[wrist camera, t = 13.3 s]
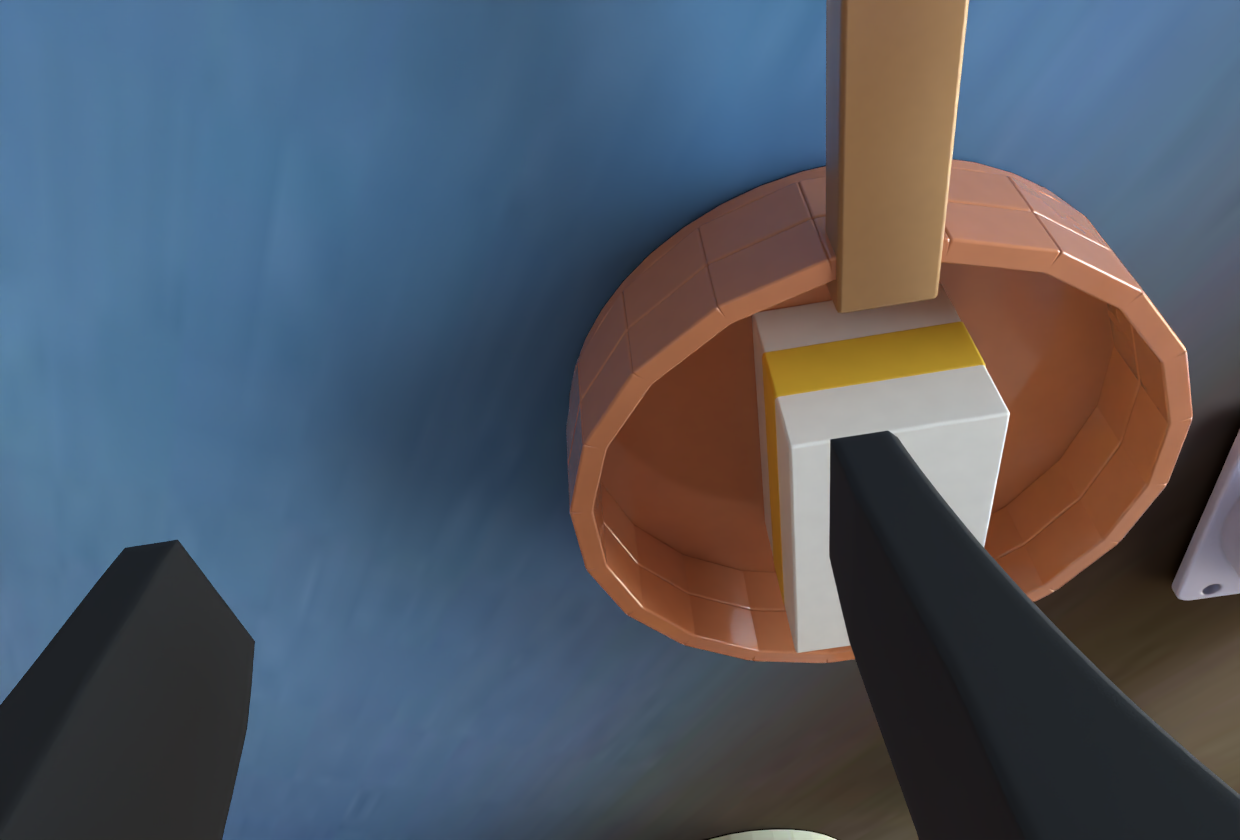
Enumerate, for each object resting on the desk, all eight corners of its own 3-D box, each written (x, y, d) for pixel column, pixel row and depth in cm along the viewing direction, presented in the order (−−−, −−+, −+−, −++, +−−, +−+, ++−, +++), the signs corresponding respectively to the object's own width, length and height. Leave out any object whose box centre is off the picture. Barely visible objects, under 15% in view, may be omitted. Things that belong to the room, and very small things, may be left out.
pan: (1193, 101, 18) (1284, 184, 16) (1068, 533, 27) (1115, 623, 25) (512, 216, 19) (510, 310, 16) (613, 600, 28) (621, 693, 25)
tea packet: (942, 280, 20) (1013, 412, 17) (918, 499, 25) (970, 630, 22) (749, 311, 20) (787, 447, 17) (764, 522, 25) (794, 654, 22)
